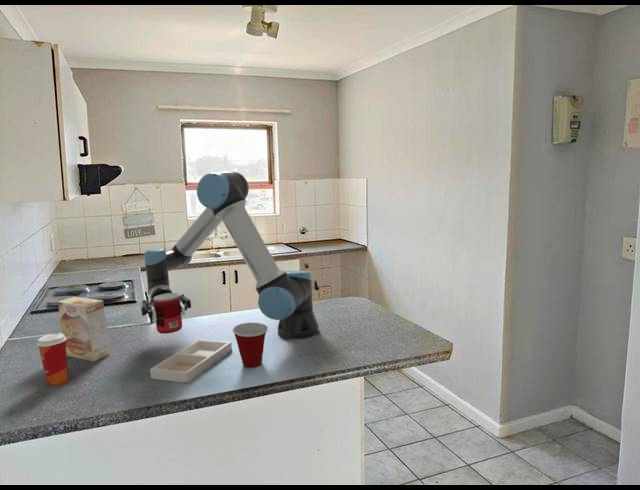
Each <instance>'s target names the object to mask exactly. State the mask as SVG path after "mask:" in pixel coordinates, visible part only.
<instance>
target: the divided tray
mask: <svg viewBox="0 0 640 490" xmlns="http://www.w3.org/2000/svg"><path fill="white" fill-rule="evenodd" d="M232 346H233V345H232V342H231V341H224V340H223V341H221V340H220V341H219V340H210V339H201V338H200V339H199V338H198V339H197V340H195V341H193V342H191V344H189V345H187V346H186V347H184V348H182V349H180V350H179V351H177V352H175V353H174V354H172V355H171V356H169V357H168V358H165V359H164V360H162V362H161V361H160V363H157V364H156V365H155V366H153V367H151V368H150V369H149V371H150V379H152V380H158V381H159V380H160V381H166V382H167V381H168V382H175V383H183V384H189V383H191V382H192V381H193V380H194V379H196V378H197V377H198V376H200V375H201V374H202V373H204V372H205V371H206V370H208V369H210V368H211V367H212V366H213V365H215V364H216V363H217V362H219V361H220V360H221V359H223V358H224V357H225V356H226V355H228V354H230V353H231V352H232V351H233V347H232Z"/></svg>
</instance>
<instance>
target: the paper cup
mask: <svg viewBox="0 0 640 490" xmlns="http://www.w3.org/2000/svg"><path fill="white" fill-rule="evenodd" d="M65 340H66V337H65V336H64V334H62V333H52V334H47V335H44V336H41V337H40V338H38V339H37V344H36V346H37V347H38V350H39V354H40V358H41V362H42V367H43V371H44V375H45V376H44V377H45V379H46V384H47V385H48V386H50V387H51V386H52V387H54V386H59V385H62V384H64V383H67V381H68V380H69V367H68V358H67V357H68V356H67V353H66V341H65Z"/></svg>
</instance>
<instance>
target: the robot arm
mask: <svg viewBox="0 0 640 490" xmlns="http://www.w3.org/2000/svg"><path fill="white" fill-rule="evenodd" d="M249 191H250V188H249V183H248V181H247V179H246V178H245V176H244V175H243V174H241V173H239V172H237V171H232V170H231V171H213V172H209V173H206V174H203V176H202V177H201V178H200V179H199V181H198V184H197V187H196V196H197V199H198V201H199V202H200V204H201V205H202V206H203V207H204V208H205V209H204V210H203V211H202V213H201V214H200V215H199V216H198V217H197V219H196V220H195V221H193V223H192V225H190V226H189V228H188V229H187V231H185V232H184V234H183V235H182V236H181V237H180V238H179V239H178V241H177V242H176V243H175V245H174V246H172V248H171V249H168V250H166V249H165V248H163V247H161V248H160V247H158V248H150V249H147V250H146V251H144V265H145V272H146V273H145V274H146V283H147V295H149V298H150V300H146V299H144V300H142V301H141V302H142V305H141V308H140V310H141V315H142V317H143V316H146V315H147V316H148V318H152V319H153V321H154V322H156V320H157V319H156V311H155V308H154V301H153V298H154V297H155V296H157V295H161V294H166V293H173V290H172V289H171V288H170V287H171V286H170V280H169V278H170V277H169V272H171V271H173V270H175V269H179V268H183V267H185V266H186V265H189V264H190V263H191V261H192V257H193V255H194V253H196V251H197V250H199V248H200V247H201V246H202V245H203V244H204V242H205V241H206V240H207V239H208V238H209V237H210V236H211V235H212V234H213V232H214V231H215V230H216V229H217V228H218V227H219V225H221V224H222V222H223V224H224V225H225V227H226V229H227V231H228V233H229V235H230V236H231V239H232V240H233V242H234V243H235V245H236V247H237V249H238V251H239V252H240V254H241V256H242V258H243V259H244V261H245V263H246V265H247V267H248V268H249V270H250V273H251V274H252V276H253V277H254V279H255V281H256V285H255V288H254V289H255V290H256V292H257V294H258V300H257V304H258V309H259V310H260V312H261V313H262V315H264V316H265V317H266V318H268V319H270V320H275V321H278V325H277V334H278V336H280V337H281V338H283V339H288V340H301V339H307V338H310V337H313V336H315V335H317V334H318V333H319V332H320V330H319V328H320V327H319V323H318V320H317V318H316V315H315V312H314V310H313V309H314V308H313V307H314V306H313V288H312V287H313V286H312V277H311V276H312V275H311V273H310V272H309V271H307V270H282V269H280V268H279V266H278V264H277V263H276V261H275V259H274V258H273V256H272V254H271V252H270V251H269V249H268V247H267V245H266V243H265V242H264V240H263V238H262V236H261V234H260V232H259V230H258V228H257V227H256V225H255V223H254V221H253V220H252V218H251V216H250V214H249V213H248V211H247V209H246V203H247V200H246V198H247V197H248V196H249V195H248V194H249ZM179 298H180V308H181V316H183V317H185V316H186V311H188V309H192V303H191V299H189V298H188V297H186V296H185V294H181V295H179Z"/></svg>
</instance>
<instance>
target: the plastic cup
mask: <svg viewBox="0 0 640 490" xmlns="http://www.w3.org/2000/svg"><path fill="white" fill-rule="evenodd" d="M268 329H269V328H268V326H267V325H266V324H264V323H259V322H244V323H240V324H237V325H235V326H233V328H232V332H233V333H234V337H235V340H236V344H237V348H238V352H239V356H240V358H241V363H242V364H243V366H244V367H245V368H249V369H250V368H251V369H253V368H257V367H259V366H261V365H262V363H263V355H264V347H265V338H266V334H267V332H268Z"/></svg>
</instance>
